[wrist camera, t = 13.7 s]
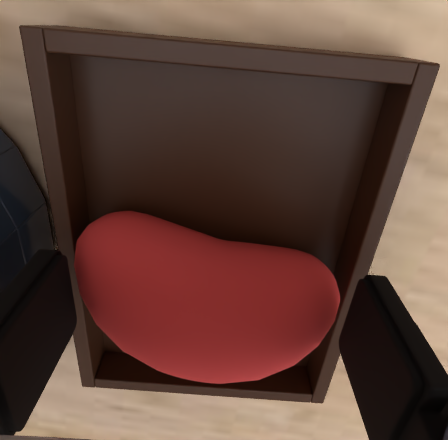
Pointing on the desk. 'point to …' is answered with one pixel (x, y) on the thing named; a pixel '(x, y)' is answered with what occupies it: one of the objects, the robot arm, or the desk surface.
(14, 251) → the bowl
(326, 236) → the tray
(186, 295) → the red kidney bean
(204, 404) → the desk surface
